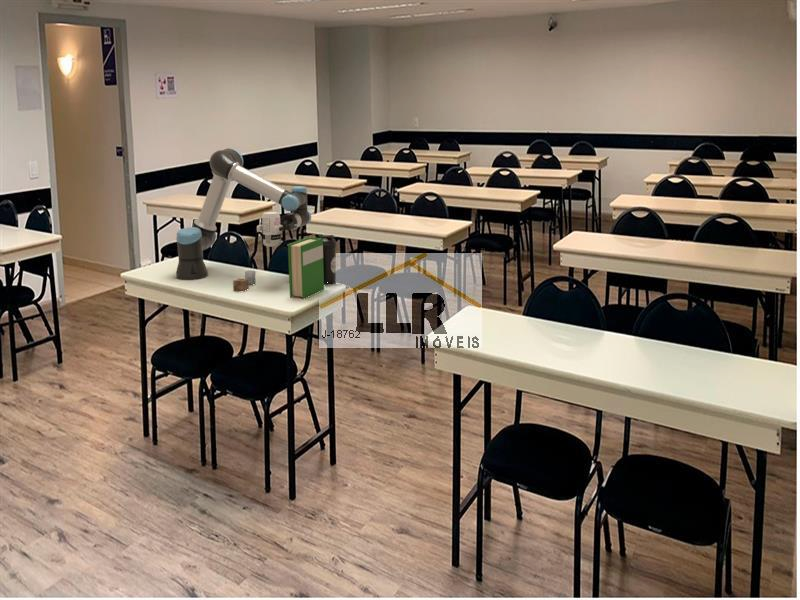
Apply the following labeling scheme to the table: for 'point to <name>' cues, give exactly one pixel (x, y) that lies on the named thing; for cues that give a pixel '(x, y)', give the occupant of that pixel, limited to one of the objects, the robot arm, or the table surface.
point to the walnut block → (240, 284)
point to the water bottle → (329, 259)
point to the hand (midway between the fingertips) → (266, 229)
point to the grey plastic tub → (250, 277)
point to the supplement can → (271, 229)
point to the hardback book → (306, 267)
